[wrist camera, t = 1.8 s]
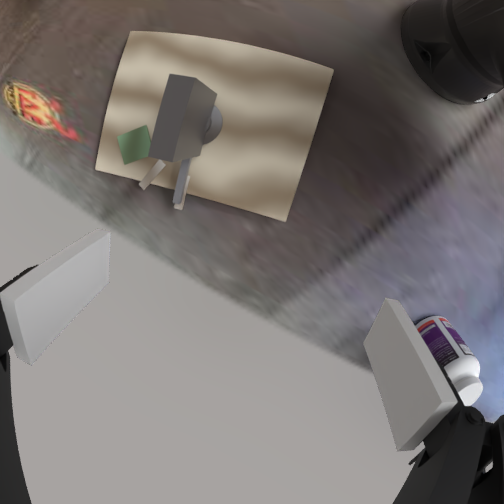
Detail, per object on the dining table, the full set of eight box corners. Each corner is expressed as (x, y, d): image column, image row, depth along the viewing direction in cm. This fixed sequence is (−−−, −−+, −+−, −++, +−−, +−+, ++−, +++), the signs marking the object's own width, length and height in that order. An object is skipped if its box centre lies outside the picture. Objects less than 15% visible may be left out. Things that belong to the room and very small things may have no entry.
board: (135, 34, 27) (129, 30, 25) (331, 72, 28) (334, 68, 26) (99, 183, 34) (91, 185, 32) (279, 234, 35) (280, 239, 33)
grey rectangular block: (220, 94, 28) (199, 78, 20) (190, 204, 32) (162, 227, 24) (195, 89, 28) (166, 73, 19) (167, 198, 32) (133, 219, 24)
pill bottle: (400, 358, 41) (429, 427, 27) (407, 317, 38) (447, 386, 25) (442, 349, 40) (478, 410, 26) (452, 308, 37) (499, 368, 24)
